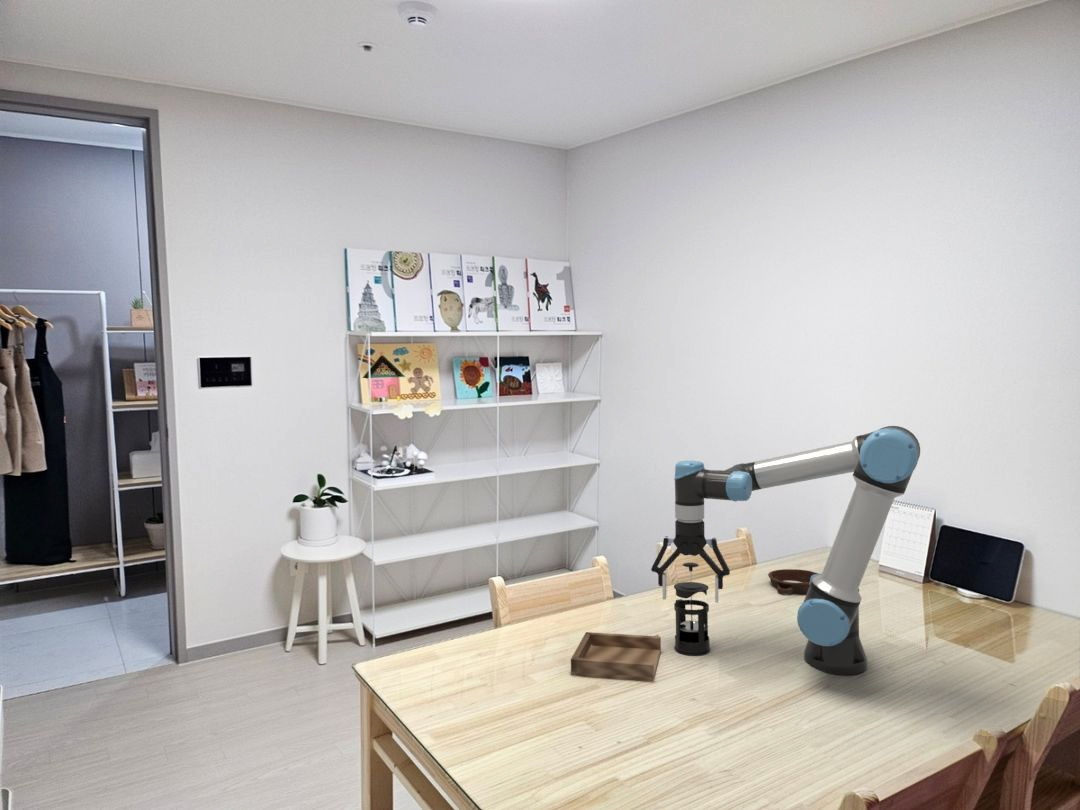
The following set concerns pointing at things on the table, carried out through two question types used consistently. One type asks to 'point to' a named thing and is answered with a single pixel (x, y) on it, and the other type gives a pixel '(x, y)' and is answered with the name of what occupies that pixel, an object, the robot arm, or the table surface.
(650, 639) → the wooden tray
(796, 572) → the dish
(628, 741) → the table surface
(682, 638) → the french press
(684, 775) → the table surface
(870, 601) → the table surface
